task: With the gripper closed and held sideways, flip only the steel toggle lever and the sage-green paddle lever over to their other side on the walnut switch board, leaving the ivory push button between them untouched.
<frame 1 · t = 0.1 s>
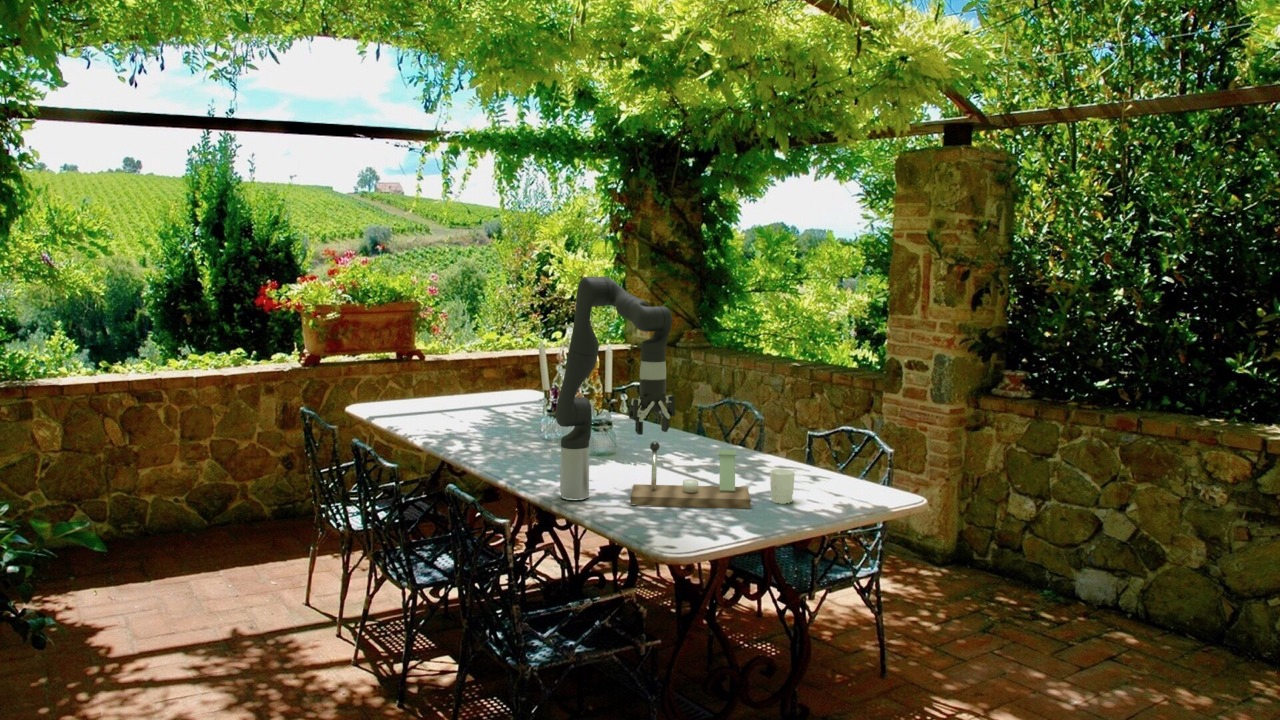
hand: (652, 432, 275), 29 cm above the table, tool pointing down, fingers open, 8 cm apart
steel toggle lever: (654, 465, 317), point 11 cm above the table, hinge at -25.0°
sage-green paddle lever: (727, 470, 316), point 10 cm above the table, hinge at -25.0°
walnut switch board: (653, 499, 315), on the table
white cup: (781, 502, 315), on the table
ivory push button: (690, 486, 314), point 5 cm above the table, slide at 0.0 cm
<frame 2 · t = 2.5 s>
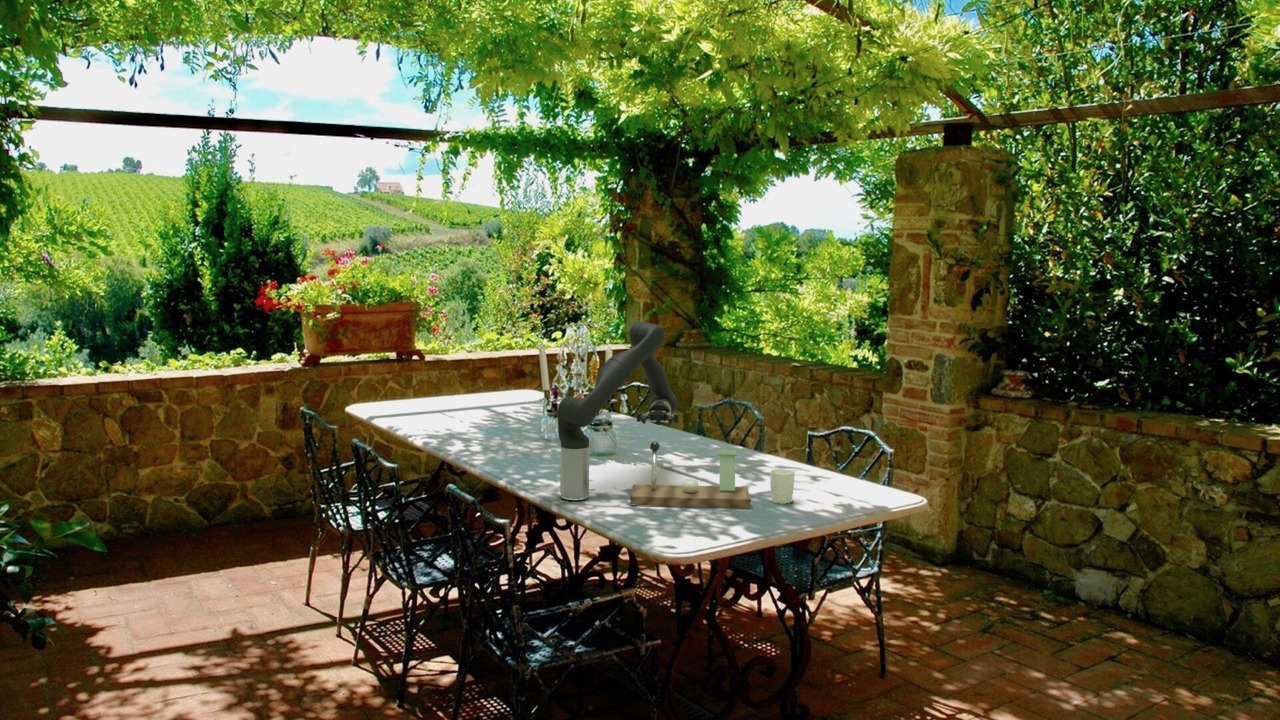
hand: (656, 421, 323), 24 cm above the table, tool horizontal, fingers open, 8 cm apart
nothing on the table moved.
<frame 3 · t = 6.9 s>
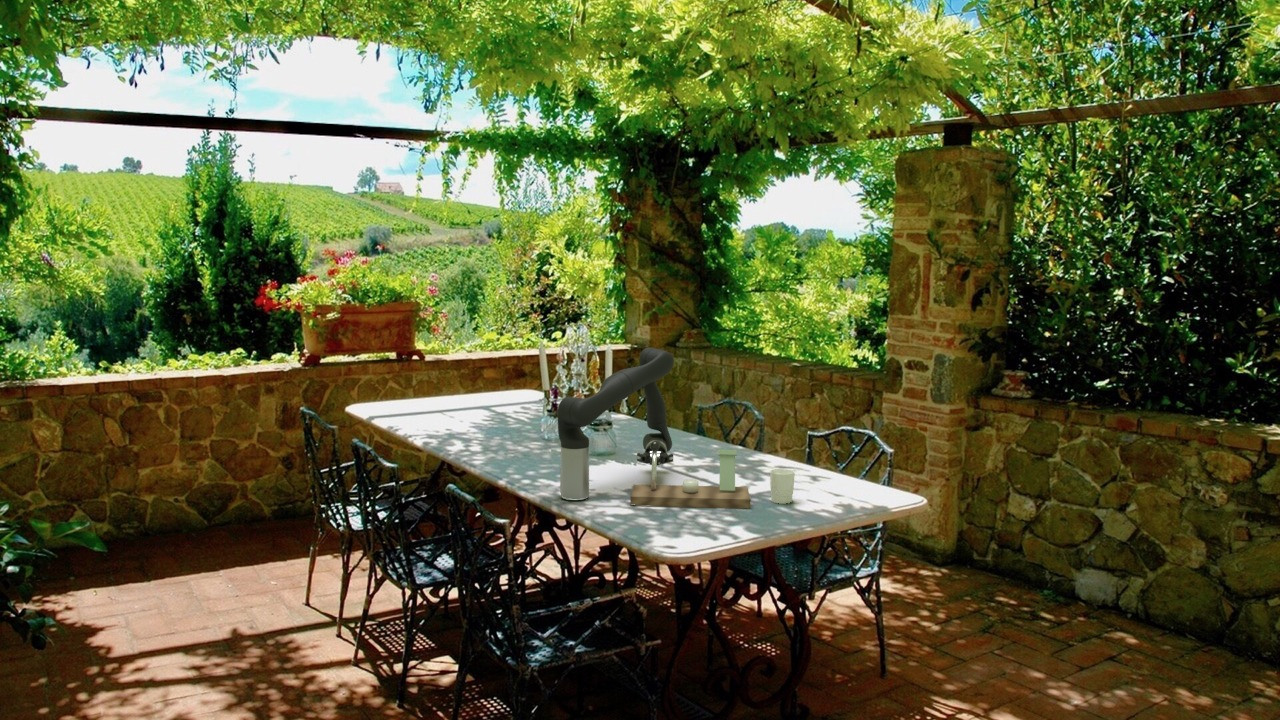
hand: (654, 463, 318), 11 cm above the table, tool horizontal, fingers closed
steel toggle lever: (654, 465, 317), point 11 cm above the table, hinge at -22.7°, touching gripper
everything else where it was.
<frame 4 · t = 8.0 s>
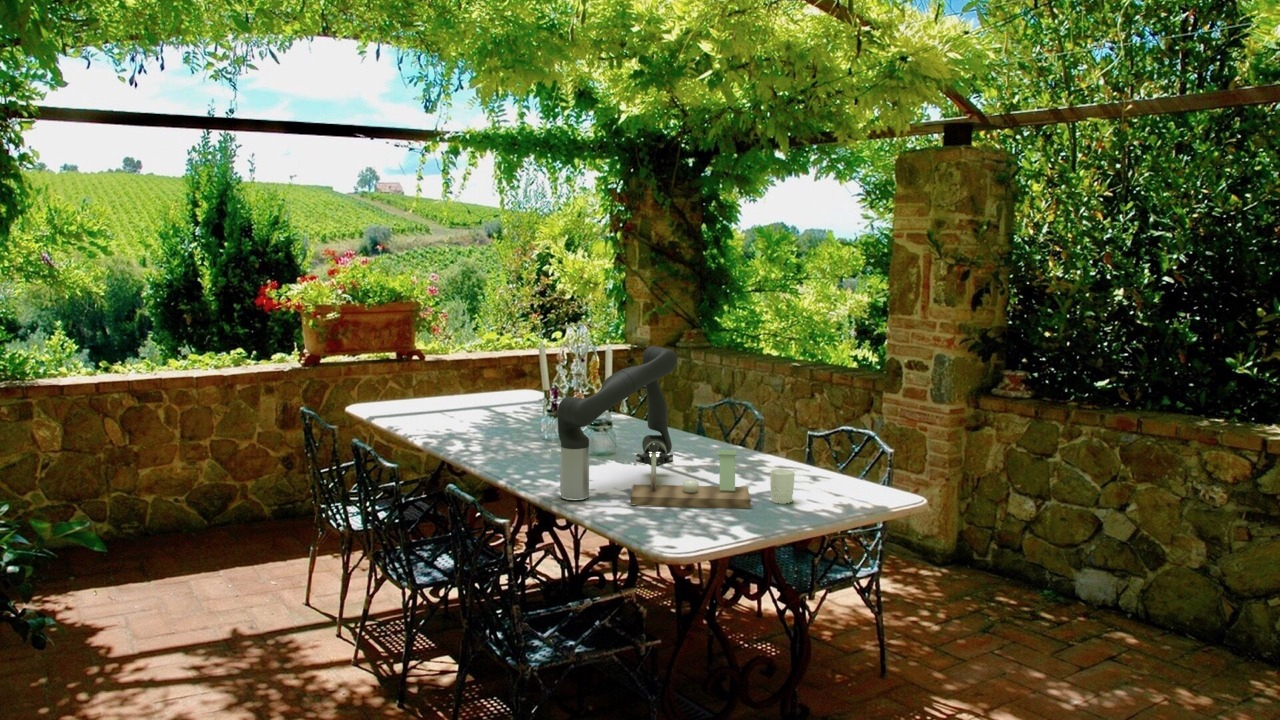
hand: (653, 463, 313), 12 cm above the table, tool horizontal, fingers closed
steel toggle lever: (653, 465, 313), point 11 cm above the table, hinge at 5.5°, touching gripper
everything else where it was.
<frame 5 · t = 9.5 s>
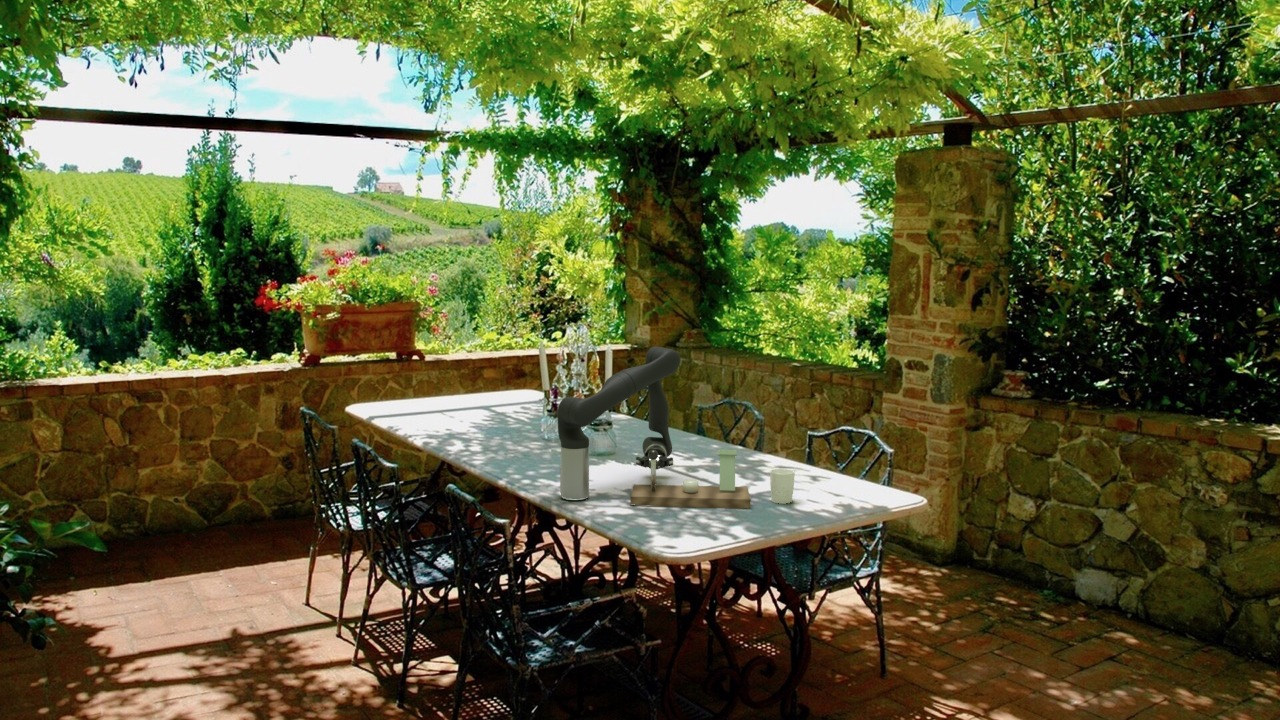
hand: (653, 466, 311), 12 cm above the table, tool horizontal, fingers closed
steel toggle lever: (653, 470, 310), point 11 cm above the table, hinge at 25.6°, touching gripper
everything else where it was.
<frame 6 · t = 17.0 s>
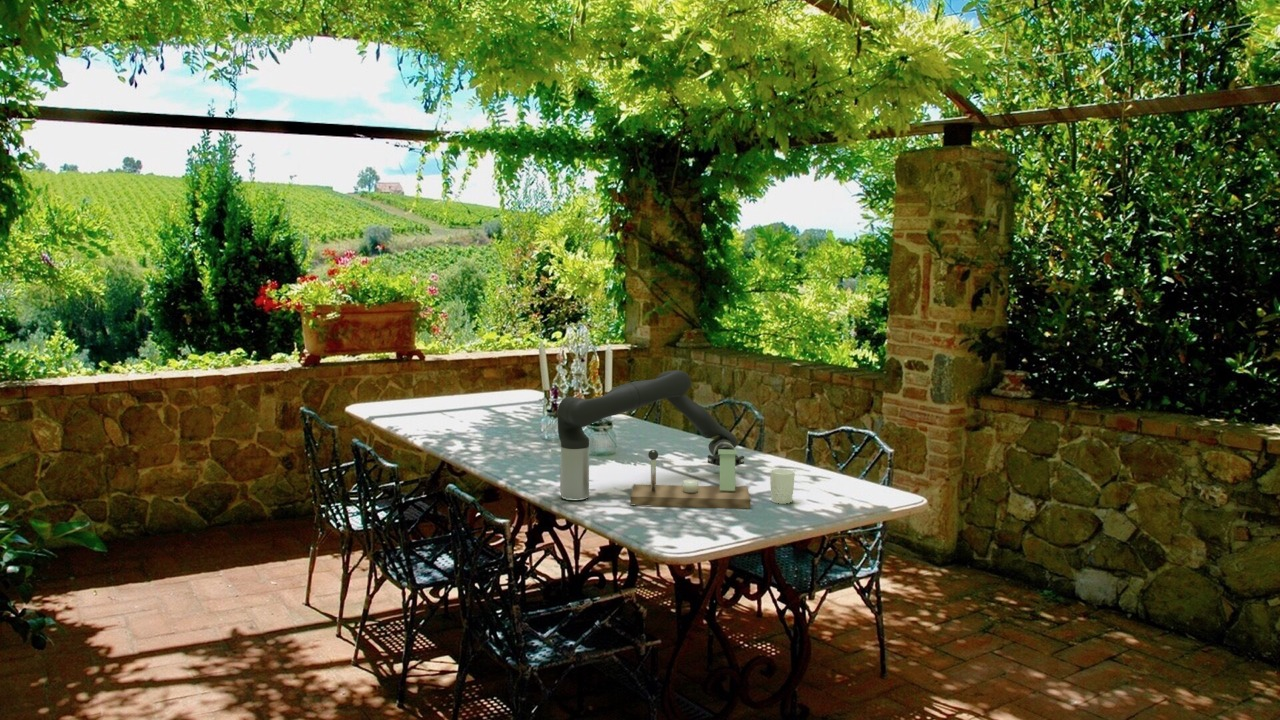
hand: (727, 465, 316), 11 cm above the table, tool horizontal, fingers closed
steel toggle lever: (653, 470, 310), point 11 cm above the table, hinge at 25.7°
sage-green paddle lever: (727, 470, 315), point 10 cm above the table, hinge at -22.2°, touching gripper
everything else where it was.
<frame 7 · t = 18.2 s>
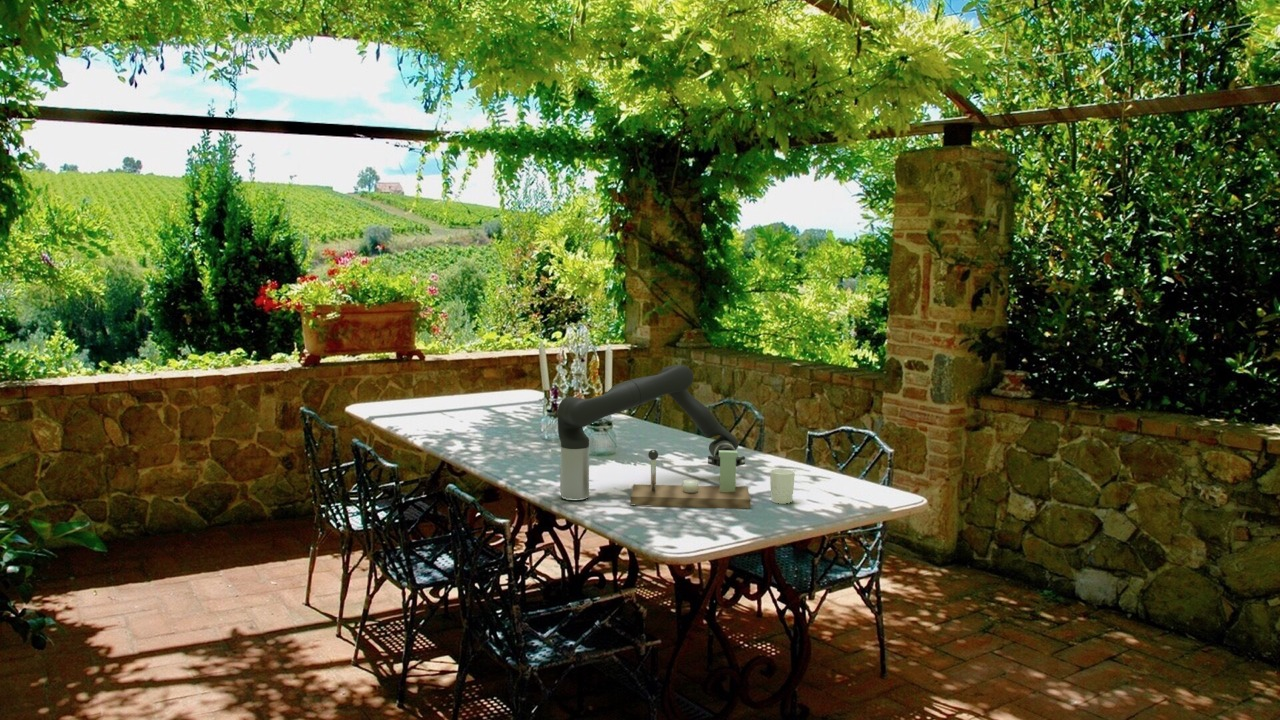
hand: (727, 465, 312), 12 cm above the table, tool horizontal, fingers closed
sage-green paddle lever: (727, 471, 312), point 10 cm above the table, hinge at 6.2°, touching gripper
everything else where it was.
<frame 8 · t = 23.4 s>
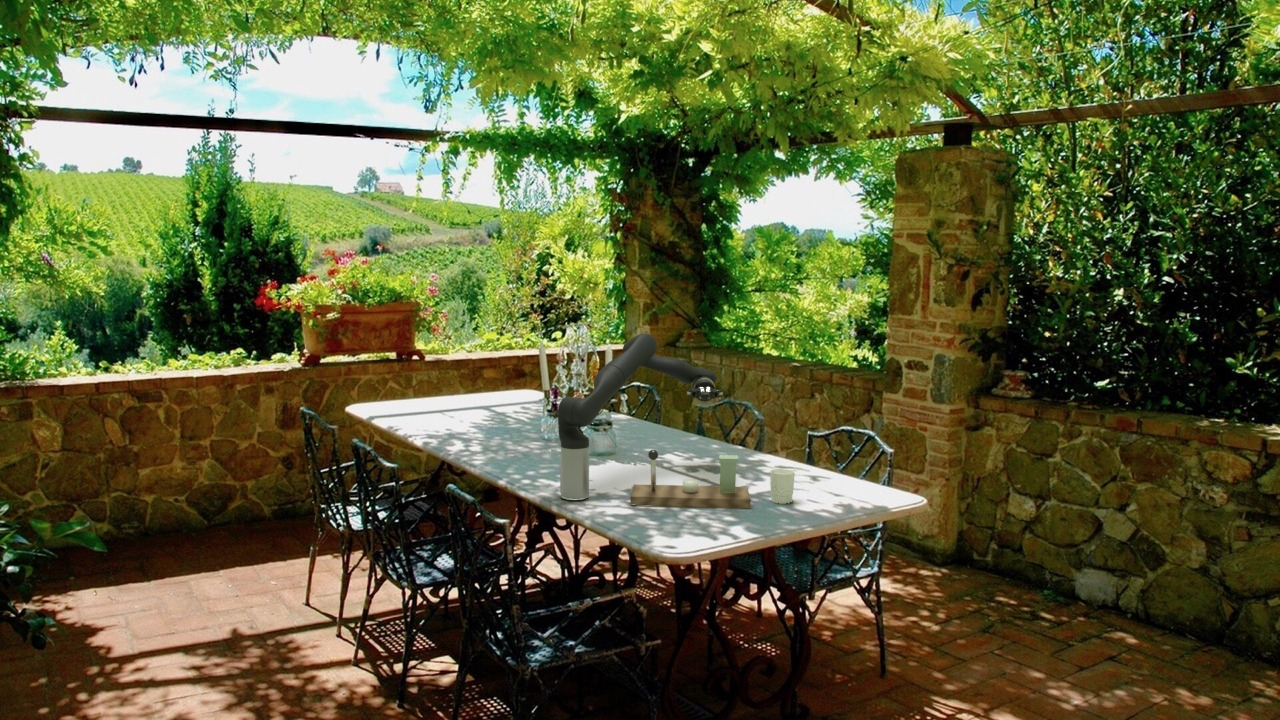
hand: (705, 396, 325), 32 cm above the table, tool horizontal, fingers closed
sage-green paddle lever: (727, 474, 310), point 10 cm above the table, hinge at 22.3°
everything else where it was.
at the end: steel toggle lever at +26° (first picture: -25°); sage-green paddle lever at +22° (first picture: -25°); ivory push button slide at 0.0 cm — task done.
